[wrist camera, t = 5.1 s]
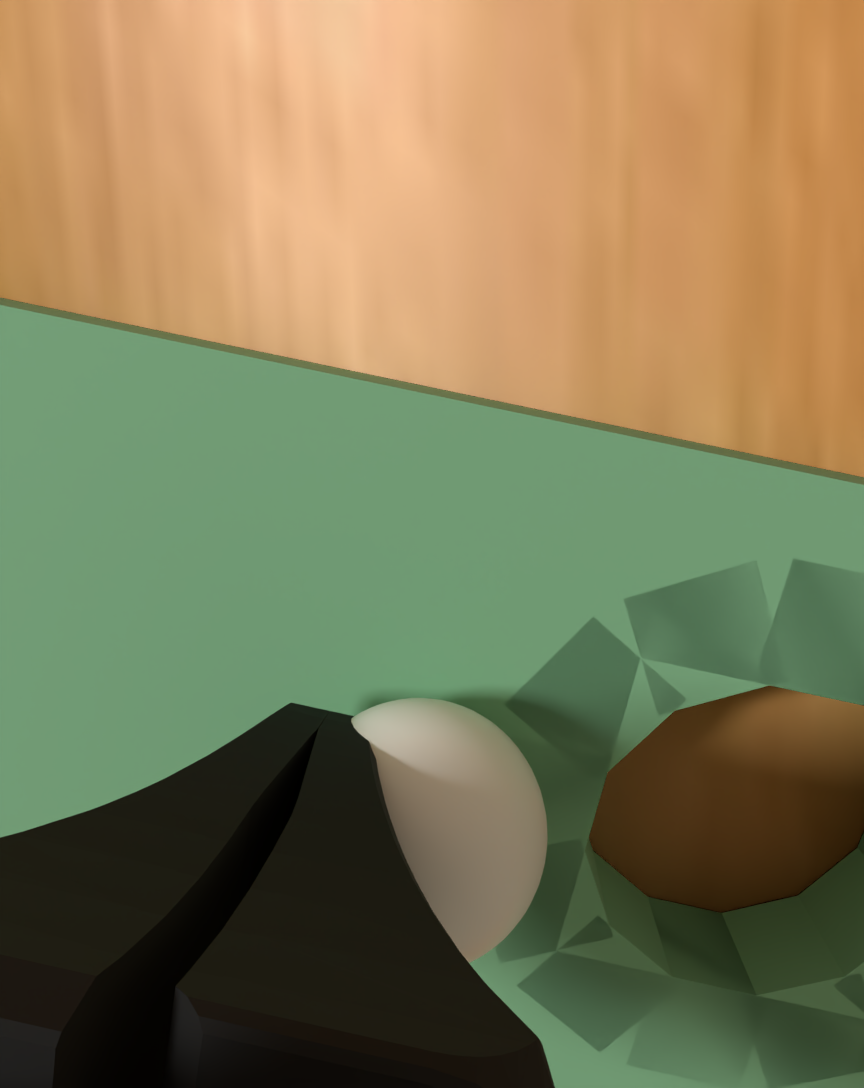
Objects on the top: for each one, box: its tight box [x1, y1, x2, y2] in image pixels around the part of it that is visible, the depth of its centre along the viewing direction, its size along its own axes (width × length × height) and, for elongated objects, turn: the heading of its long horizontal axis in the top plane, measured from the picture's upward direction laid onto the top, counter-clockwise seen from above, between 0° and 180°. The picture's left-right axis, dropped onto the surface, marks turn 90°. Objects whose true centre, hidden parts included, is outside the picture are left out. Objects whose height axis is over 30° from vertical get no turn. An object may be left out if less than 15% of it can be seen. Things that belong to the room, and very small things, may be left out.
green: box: [0, 298, 864, 1088], centre depth 11 cm, size 12×24×7 cm, turn 79°
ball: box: [351, 698, 548, 963], centre depth 11 cm, size 4×4×4 cm
